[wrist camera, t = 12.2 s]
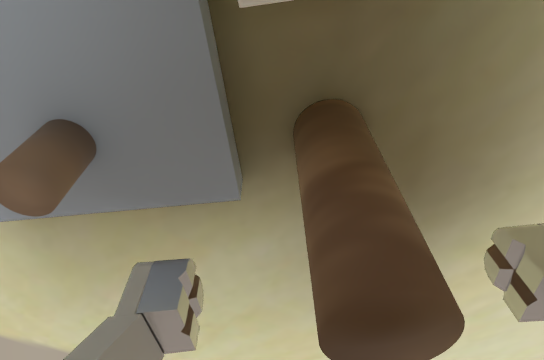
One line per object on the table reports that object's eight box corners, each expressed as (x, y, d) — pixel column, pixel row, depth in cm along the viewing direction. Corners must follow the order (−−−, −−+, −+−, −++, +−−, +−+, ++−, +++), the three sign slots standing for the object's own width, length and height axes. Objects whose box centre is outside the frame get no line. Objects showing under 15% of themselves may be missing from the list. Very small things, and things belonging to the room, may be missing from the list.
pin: (366, 95, 14) (481, 286, 6) (362, 158, 15) (448, 366, 8) (290, 103, 14) (316, 299, 6) (295, 165, 15) (320, 373, 8)
